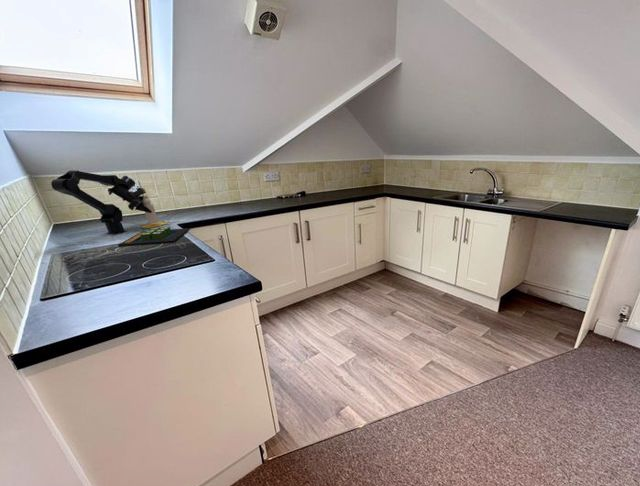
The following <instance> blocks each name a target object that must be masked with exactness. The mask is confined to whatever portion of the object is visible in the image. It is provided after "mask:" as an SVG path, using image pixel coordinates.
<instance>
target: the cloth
mask: <svg viewBox="0 0 640 486" xmlns="http://www.w3.org/2000/svg"><path fill="white" fill-rule="evenodd" d="M168 224H169V223H168V222H162V221H158V222H157V223H148V224H145V225H142V226H140V228H142V229H151V228H158V227H160V226H165V225H168Z"/></svg>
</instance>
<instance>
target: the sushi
mask: <svg viewBox="0 0 640 486" xmlns="http://www.w3.org/2000/svg"><path fill="white" fill-rule="evenodd" d="M190 230H191V228H189V227H188V228H173V229H172V228H171V226H163V227H160V226H158V227H152V228H148V230H141V231H140V232H139V233H136V234H135V235H133V236H131V237H129V238H127V239H126V240H124V241H122V242H121V243H119V244H118V247H132V246H143V245H157V244H169V243H175V242H177V241H178V240H179V239H181V237H183V236H184V235H185V234H187V233H188V232H190Z"/></svg>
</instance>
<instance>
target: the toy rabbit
mask: <svg viewBox="0 0 640 486" xmlns="http://www.w3.org/2000/svg"><path fill="white" fill-rule="evenodd" d="M141 196H143V200H142V201H143V203H144V204H143V205H145V206H146V207H147V208H148V209H150V210H151V211H152V212H151V213H149V212H144V215H145V217H146V221H147V223H148V224H154V223H158V222H159V219H158V216H157V213H156V210H155V205H154V204H153V203H152V200H151V199H150V198H149V196H148V194H145V195H144V194H143V195H141ZM145 197H146V198H145Z"/></svg>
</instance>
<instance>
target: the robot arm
mask: <svg viewBox="0 0 640 486" xmlns="http://www.w3.org/2000/svg"><path fill="white" fill-rule="evenodd" d="M81 181H88V182H95V183H98V184H100V185H103V186H106V187H109V188H107V192H108V195H109V196H111V195H112V194H113V195H116V196H117V197H118V198H120V199H122V201H123V202H127V203H129V204H128V205H127V208H128V209H129V210H131V211H133V210H135V211H140V212H144V213H145V212H149V213H151V212H152V211H151V210H150V209H148V208H147V207H146V206H145V205H143V204H144V203H143V201H142V200H143V196H142V195H144V194H147V191H146V190H145V188H143V187H137V188H136V190H135V191H133V190H131V189H133V187H134V186H136V182H135V180H133V179H132V178H131V177H129V176H128V175H123V176H122V177H121V178H120V177H118V176H117V175H116V174H97V173H91V172H85V171H80V170H77V169H76V170H74V169H73V170H68V171H67V172H66V173H64V174H62V175H60V176H58V177H57V178H54V179H53V180H52V181H51V183H50V185H51V188H52V189H53V191H55V192H58V193H61V194H64V195H68V196H71V197H73V198H75V199H77V200H79V201H81V202H83V203H84V204H86V205H87V206H90V207H91V208H93V209H95V210H97V211H98V212H99V213H100V215H101V216H100V219H99V221H100V222H101V223H103V224H104V225H105V227H106V231H107V232H106V234H107V235H108V234H109V235H116V234H121V233H125V232H126V229H124V228H125V227H124V225H123V223H122V222H123V212H122V210H121V209H120V207H118V206H116V205H115V204H113V203H104V202H102V201H101V200H100V199H98V198H95V197H94V196H92V195H91V194H89V193H87V192H85V191H83V190H82V189H81V188H80V186H79V184H80V182H81ZM110 186H111V187H110ZM145 198H146V196H145Z"/></svg>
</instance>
